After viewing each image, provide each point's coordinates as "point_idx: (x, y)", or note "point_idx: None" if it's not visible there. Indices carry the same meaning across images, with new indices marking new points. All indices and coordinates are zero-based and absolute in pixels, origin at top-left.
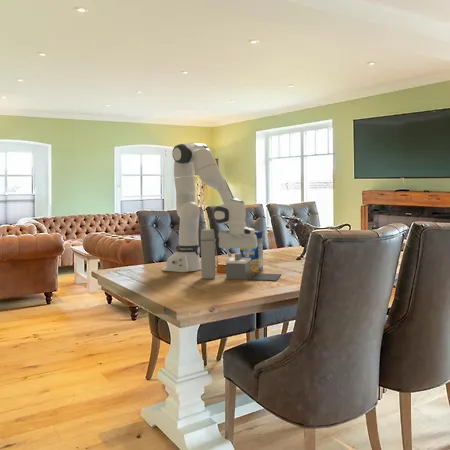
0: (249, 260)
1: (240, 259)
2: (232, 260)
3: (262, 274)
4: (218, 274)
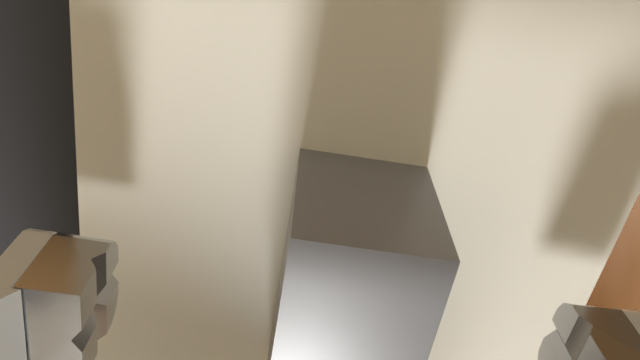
0: None
1: (283, 234)
2: (500, 75)
3: (2, 196)
4: (620, 258)
